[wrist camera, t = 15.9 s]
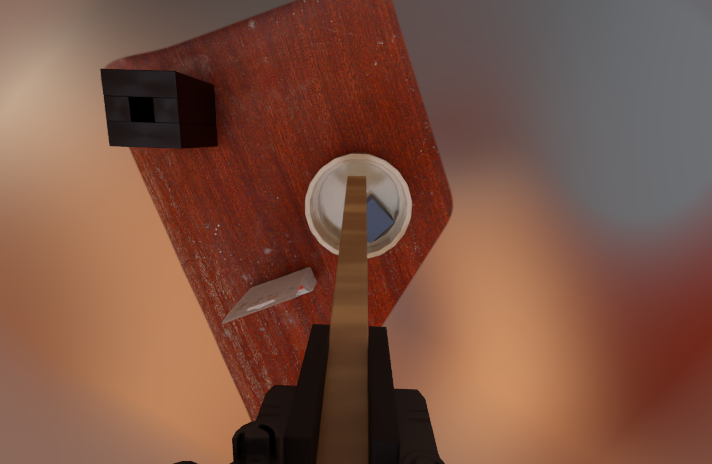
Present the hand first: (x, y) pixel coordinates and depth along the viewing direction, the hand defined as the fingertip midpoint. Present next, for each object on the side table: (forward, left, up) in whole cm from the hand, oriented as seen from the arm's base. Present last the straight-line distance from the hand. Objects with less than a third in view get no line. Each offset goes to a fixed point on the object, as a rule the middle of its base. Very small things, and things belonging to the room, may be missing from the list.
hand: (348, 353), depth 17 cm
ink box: (+11, -10, -34) cm, 37 cm away
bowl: (-1, 0, -34) cm, 34 cm away
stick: (-5, 0, -21) cm, 22 cm away
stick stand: (-11, -22, -34) cm, 42 cm away
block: (0, +2, -33) cm, 34 cm away
